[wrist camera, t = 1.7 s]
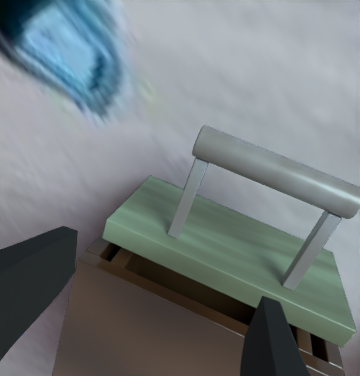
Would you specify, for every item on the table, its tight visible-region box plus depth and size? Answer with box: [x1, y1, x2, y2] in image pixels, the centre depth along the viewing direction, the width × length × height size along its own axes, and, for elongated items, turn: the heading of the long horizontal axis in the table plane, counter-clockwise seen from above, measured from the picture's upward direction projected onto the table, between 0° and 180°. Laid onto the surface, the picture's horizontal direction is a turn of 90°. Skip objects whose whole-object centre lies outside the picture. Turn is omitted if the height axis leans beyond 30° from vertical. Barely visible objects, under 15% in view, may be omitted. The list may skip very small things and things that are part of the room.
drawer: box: [102, 125, 360, 355], centre depth 19 cm, size 20×12×6 cm, turn 162°
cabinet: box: [52, 233, 345, 376], centre depth 22 cm, size 16×14×8 cm
